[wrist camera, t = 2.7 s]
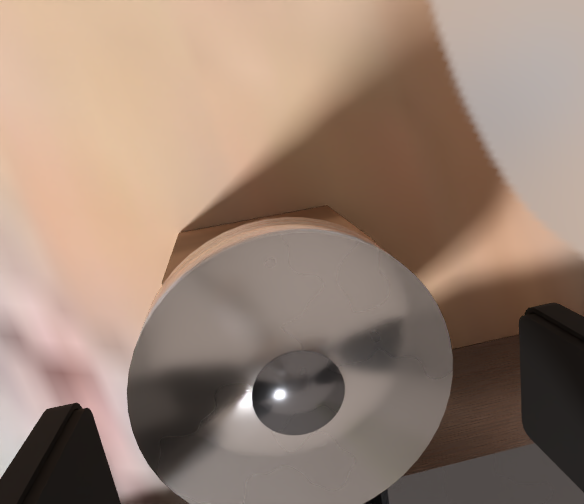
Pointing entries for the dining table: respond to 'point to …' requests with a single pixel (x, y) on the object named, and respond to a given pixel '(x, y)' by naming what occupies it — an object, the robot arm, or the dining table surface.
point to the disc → (288, 368)
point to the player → (483, 441)
